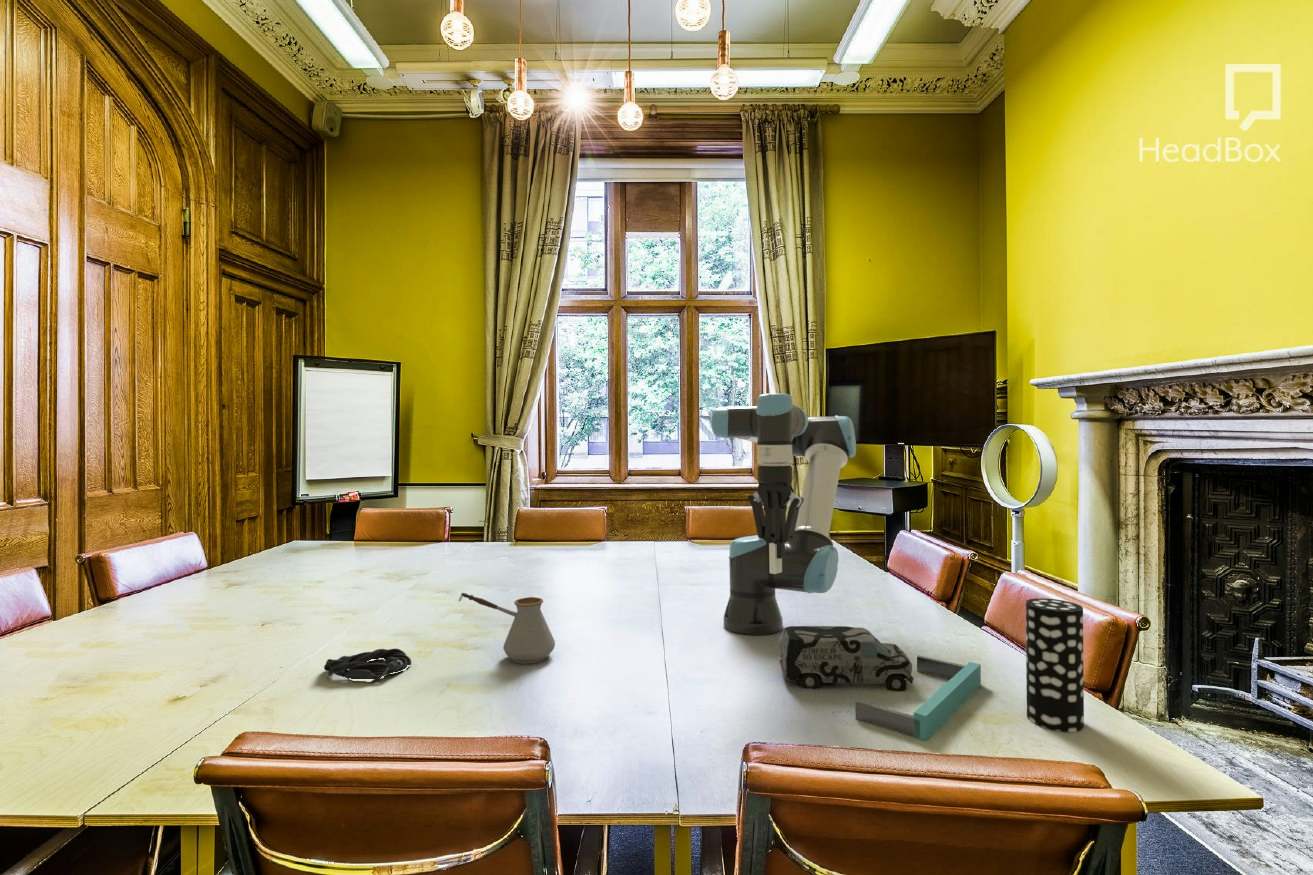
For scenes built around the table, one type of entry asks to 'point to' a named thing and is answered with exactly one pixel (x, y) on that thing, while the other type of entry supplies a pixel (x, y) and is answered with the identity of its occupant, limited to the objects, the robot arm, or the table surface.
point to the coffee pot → (524, 630)
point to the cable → (368, 664)
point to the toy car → (842, 658)
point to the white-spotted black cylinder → (1055, 664)
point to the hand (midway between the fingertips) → (775, 572)
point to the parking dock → (935, 707)
